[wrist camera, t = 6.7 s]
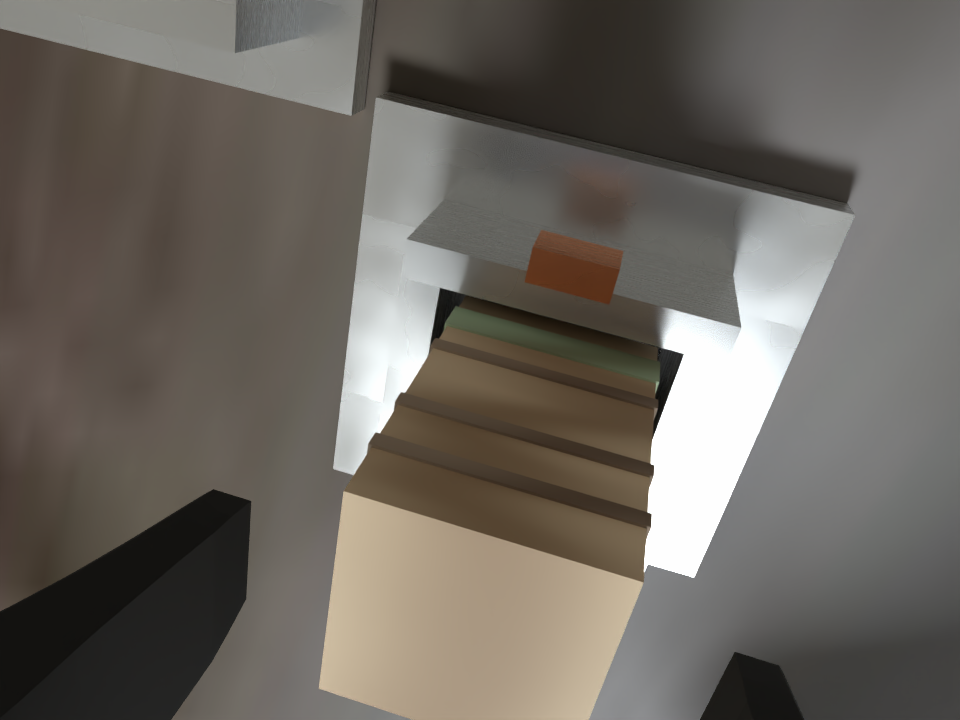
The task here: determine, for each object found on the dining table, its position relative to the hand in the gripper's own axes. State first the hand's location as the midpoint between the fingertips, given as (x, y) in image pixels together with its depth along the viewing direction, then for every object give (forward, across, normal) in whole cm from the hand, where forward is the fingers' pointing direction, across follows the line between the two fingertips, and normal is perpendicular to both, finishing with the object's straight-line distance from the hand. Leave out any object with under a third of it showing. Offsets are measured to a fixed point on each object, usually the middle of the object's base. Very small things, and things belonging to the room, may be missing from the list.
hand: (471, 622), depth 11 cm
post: (+7, 0, 0) cm, 7 cm away
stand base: (+9, 0, 0) cm, 9 cm away
